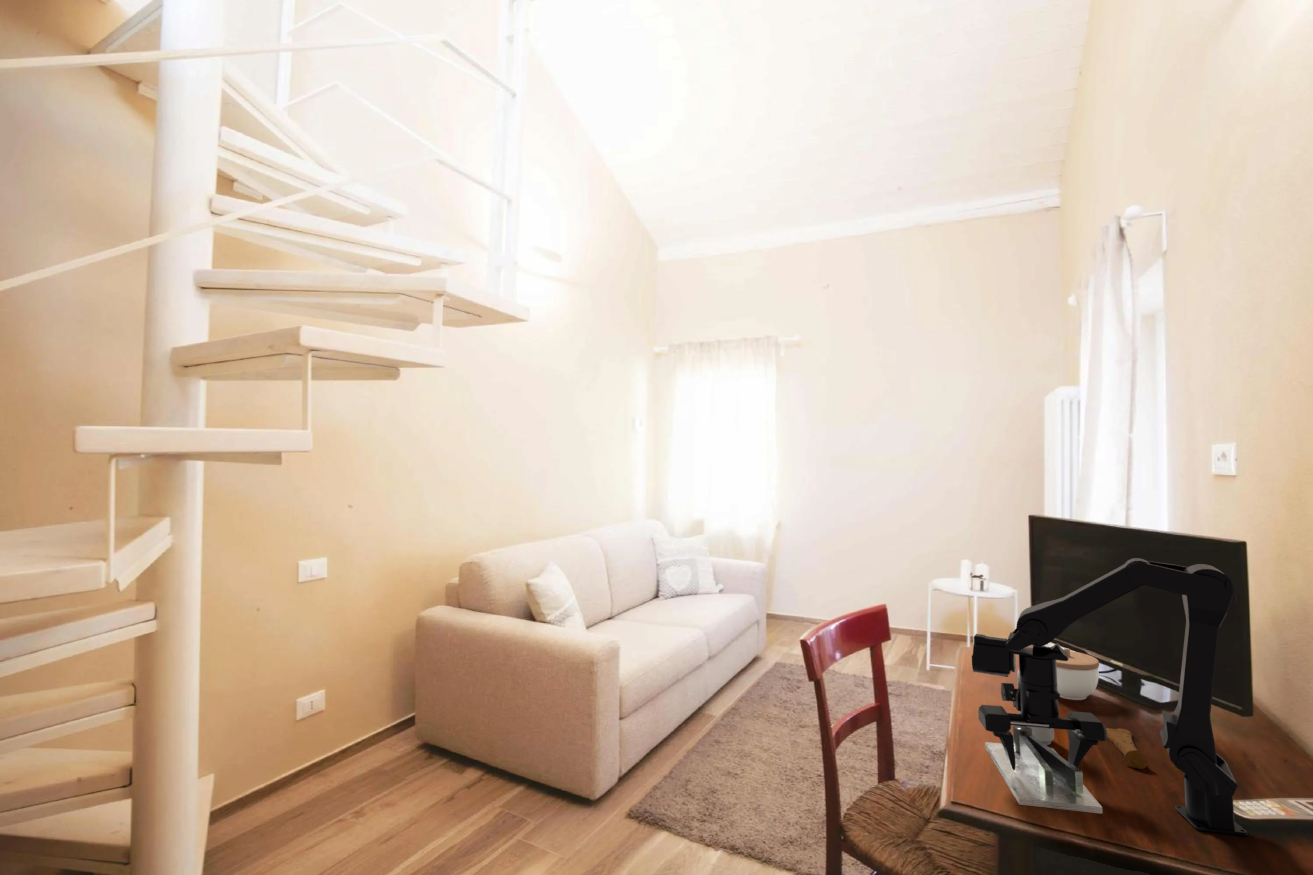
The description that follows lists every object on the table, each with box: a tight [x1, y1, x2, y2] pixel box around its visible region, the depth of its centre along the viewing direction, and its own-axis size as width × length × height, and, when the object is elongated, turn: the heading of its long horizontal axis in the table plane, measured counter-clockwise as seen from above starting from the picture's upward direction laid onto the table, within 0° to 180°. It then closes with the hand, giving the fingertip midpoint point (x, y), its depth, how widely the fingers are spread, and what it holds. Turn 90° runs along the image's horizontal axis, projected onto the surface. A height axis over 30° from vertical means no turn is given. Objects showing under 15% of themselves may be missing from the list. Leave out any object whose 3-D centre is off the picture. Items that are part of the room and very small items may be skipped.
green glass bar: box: [1028, 735, 1084, 794], centre depth 112 cm, size 14×1×4 cm, turn 178°
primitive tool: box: [1106, 727, 1149, 770], centre depth 124 cm, size 19×6×4 cm, turn 157°
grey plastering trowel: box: [984, 725, 1103, 814], centre depth 113 cm, size 22×12×5 cm, turn 166°
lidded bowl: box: [1056, 648, 1100, 701], centre depth 153 cm, size 13×13×11 cm
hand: (1041, 771), depth 111 cm, fingers open, 9 cm apart
